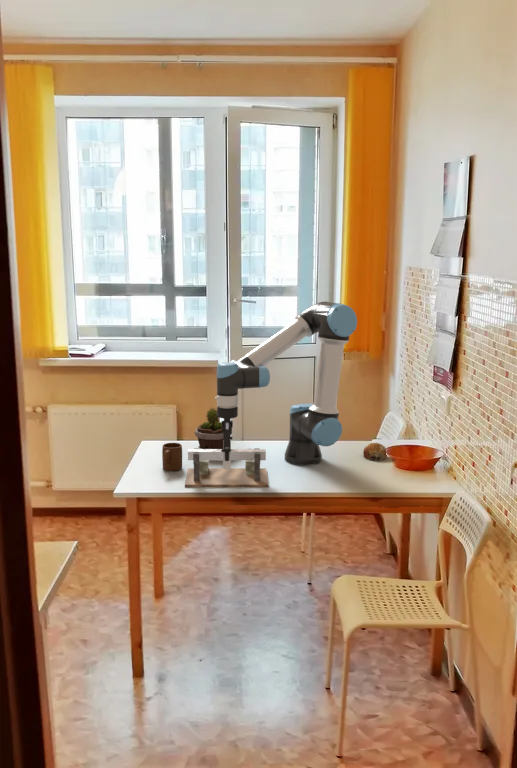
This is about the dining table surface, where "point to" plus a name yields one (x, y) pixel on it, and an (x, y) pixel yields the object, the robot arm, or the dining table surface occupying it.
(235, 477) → the rack
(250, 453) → the rail
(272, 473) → the dining table surface
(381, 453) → the bread roll
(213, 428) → the flowerpot
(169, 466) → the mug
